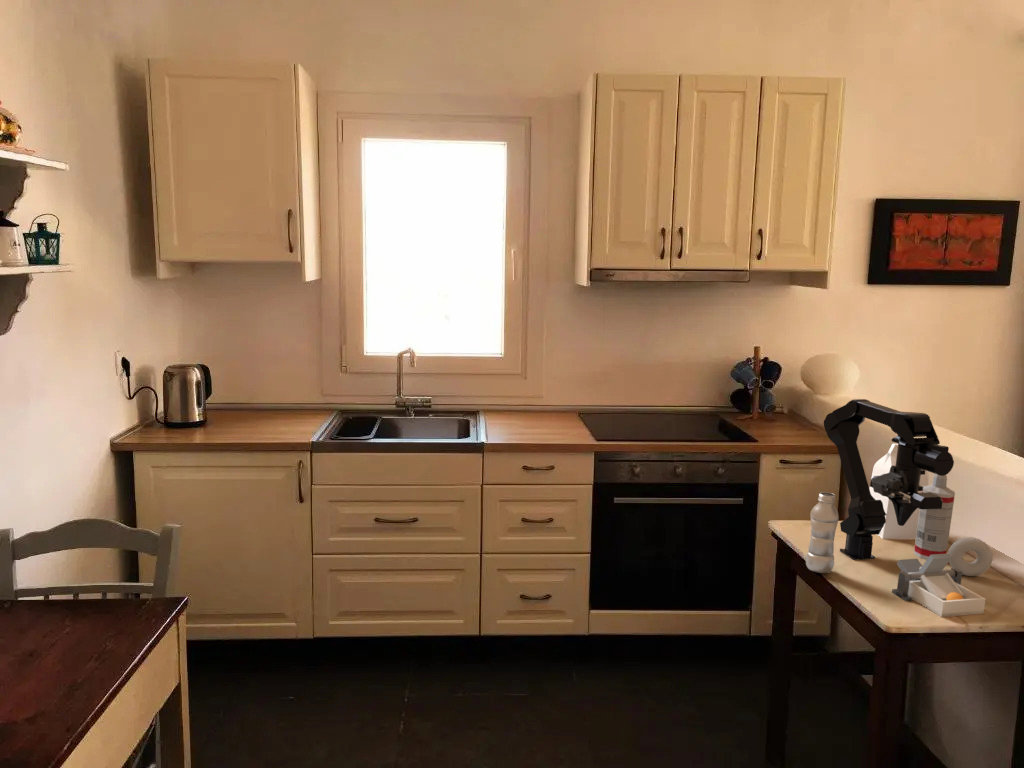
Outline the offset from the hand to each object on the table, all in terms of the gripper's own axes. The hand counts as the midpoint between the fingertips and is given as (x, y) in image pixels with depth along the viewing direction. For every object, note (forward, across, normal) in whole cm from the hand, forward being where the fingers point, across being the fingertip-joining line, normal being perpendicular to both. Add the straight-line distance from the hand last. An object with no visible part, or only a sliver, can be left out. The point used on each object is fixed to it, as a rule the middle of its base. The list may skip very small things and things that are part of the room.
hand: (900, 525), depth 199 cm
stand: (+13, +12, 0) cm, 17 cm away
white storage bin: (+13, +16, 0) cm, 21 cm away
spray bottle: (+13, -10, +19) cm, 25 cm away
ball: (+11, +20, 0) cm, 22 cm away
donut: (+13, +3, +19) cm, 23 cm away
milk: (+13, -28, +22) cm, 37 cm away
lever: (+12, +9, 0) cm, 15 cm away
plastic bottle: (+13, -5, -18) cm, 23 cm away
